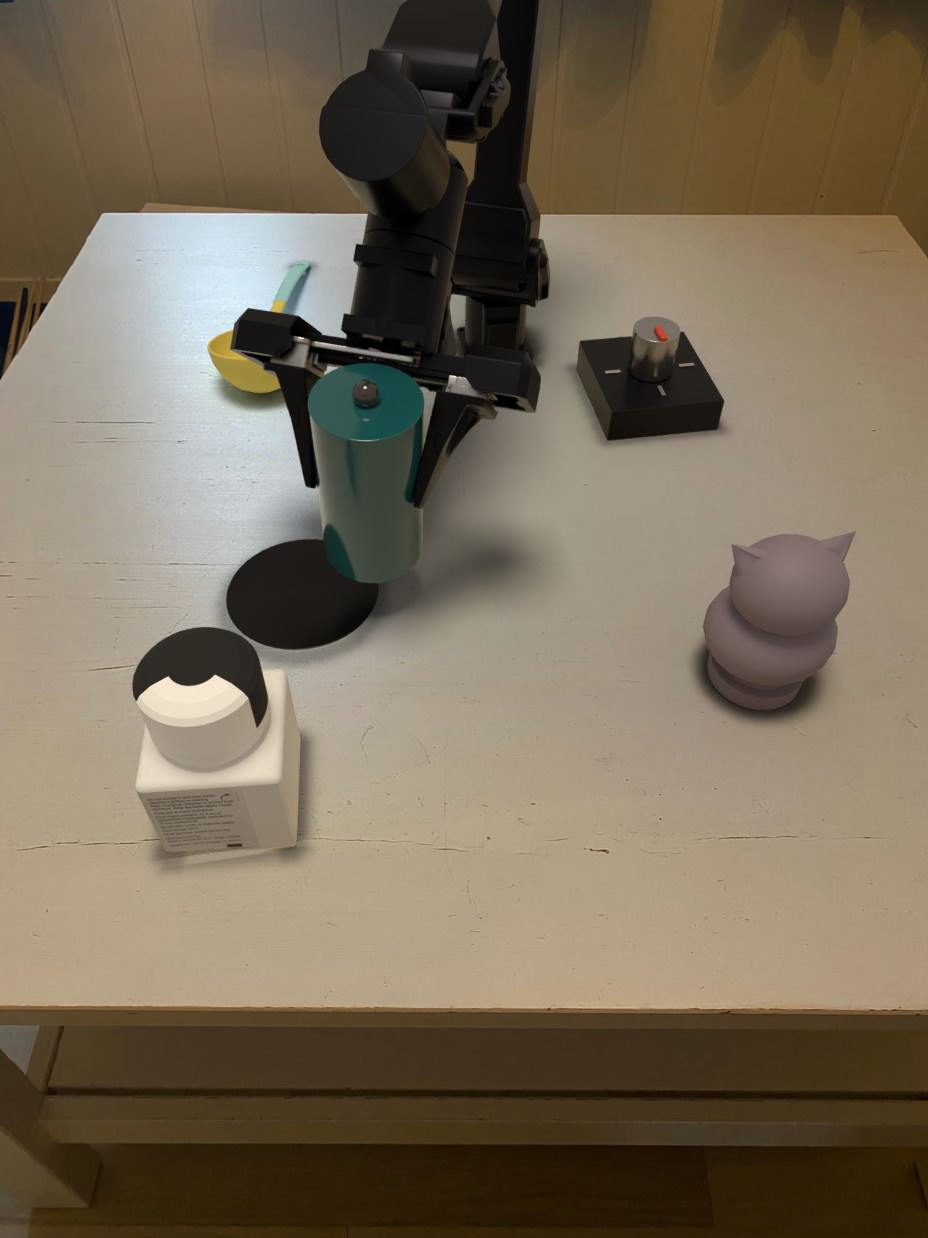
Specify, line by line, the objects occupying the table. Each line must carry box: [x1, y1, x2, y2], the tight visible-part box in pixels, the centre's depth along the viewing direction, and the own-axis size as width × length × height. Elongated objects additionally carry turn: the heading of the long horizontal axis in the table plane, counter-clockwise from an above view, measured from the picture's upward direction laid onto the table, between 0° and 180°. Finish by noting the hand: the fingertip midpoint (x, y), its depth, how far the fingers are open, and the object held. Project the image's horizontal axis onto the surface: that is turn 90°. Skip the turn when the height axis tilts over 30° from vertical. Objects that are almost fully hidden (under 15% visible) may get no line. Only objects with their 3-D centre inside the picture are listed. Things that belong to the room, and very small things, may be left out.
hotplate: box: [225, 538, 379, 651], centre depth 69 cm, size 11×11×1 cm
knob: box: [627, 316, 681, 382], centre depth 82 cm, size 4×4×4 cm
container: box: [131, 626, 301, 854], centre depth 53 cm, size 8×8×13 cm
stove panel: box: [576, 331, 725, 441], centre depth 85 cm, size 11×10×3 cm
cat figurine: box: [702, 530, 857, 711], centre depth 60 cm, size 8×8×12 cm
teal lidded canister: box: [308, 363, 426, 584], centre depth 60 cm, size 7×7×14 cm
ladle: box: [206, 259, 312, 394], centre depth 92 cm, size 9×26×6 cm, turn 177°
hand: (364, 497), depth 60 cm, fingers closed on teal lidded canister, 7 cm apart
